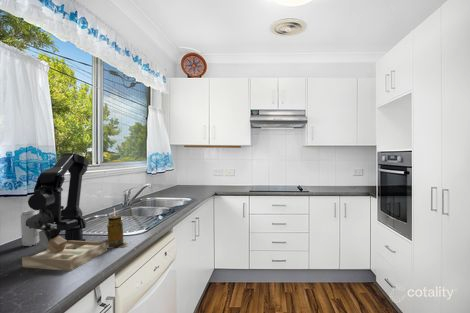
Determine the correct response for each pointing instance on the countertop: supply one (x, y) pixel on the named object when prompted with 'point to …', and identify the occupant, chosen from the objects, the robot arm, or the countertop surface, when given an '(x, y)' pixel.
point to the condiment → (115, 232)
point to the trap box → (66, 256)
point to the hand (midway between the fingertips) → (51, 245)
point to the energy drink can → (28, 229)
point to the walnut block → (56, 244)
